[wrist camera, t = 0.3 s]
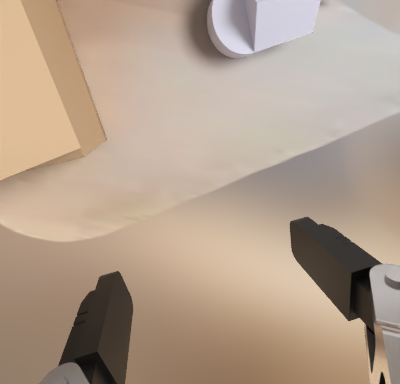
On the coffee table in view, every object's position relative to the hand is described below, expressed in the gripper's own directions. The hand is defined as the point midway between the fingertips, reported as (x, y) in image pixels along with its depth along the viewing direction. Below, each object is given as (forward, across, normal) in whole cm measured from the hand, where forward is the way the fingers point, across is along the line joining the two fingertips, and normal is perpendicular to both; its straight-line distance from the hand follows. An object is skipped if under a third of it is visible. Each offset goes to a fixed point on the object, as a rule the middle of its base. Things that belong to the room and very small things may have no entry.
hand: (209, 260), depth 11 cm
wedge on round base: (+30, -15, -14) cm, 36 cm away
